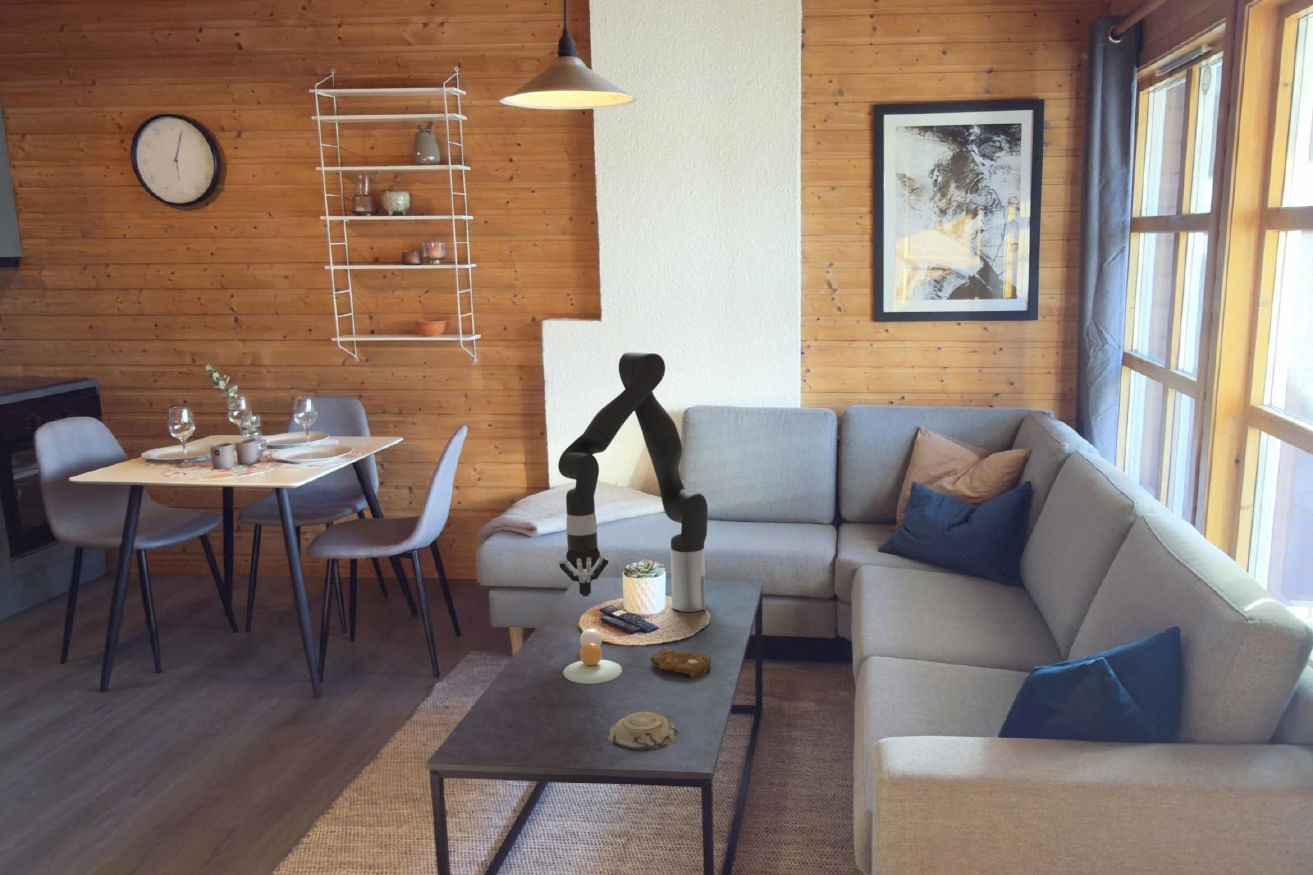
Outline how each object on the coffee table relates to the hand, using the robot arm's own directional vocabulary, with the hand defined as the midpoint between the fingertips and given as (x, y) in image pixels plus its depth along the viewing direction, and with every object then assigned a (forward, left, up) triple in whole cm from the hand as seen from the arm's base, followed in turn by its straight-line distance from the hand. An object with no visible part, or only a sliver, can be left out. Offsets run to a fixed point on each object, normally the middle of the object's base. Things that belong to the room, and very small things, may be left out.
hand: (585, 595), depth 267 cm
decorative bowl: (-16, +50, -14) cm, 54 cm away
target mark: (-3, +18, -13) cm, 22 cm away
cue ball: (-1, +5, -10) cm, 11 cm away
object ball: (-2, +14, -10) cm, 17 cm away
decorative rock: (-24, +17, -13) cm, 32 cm away
